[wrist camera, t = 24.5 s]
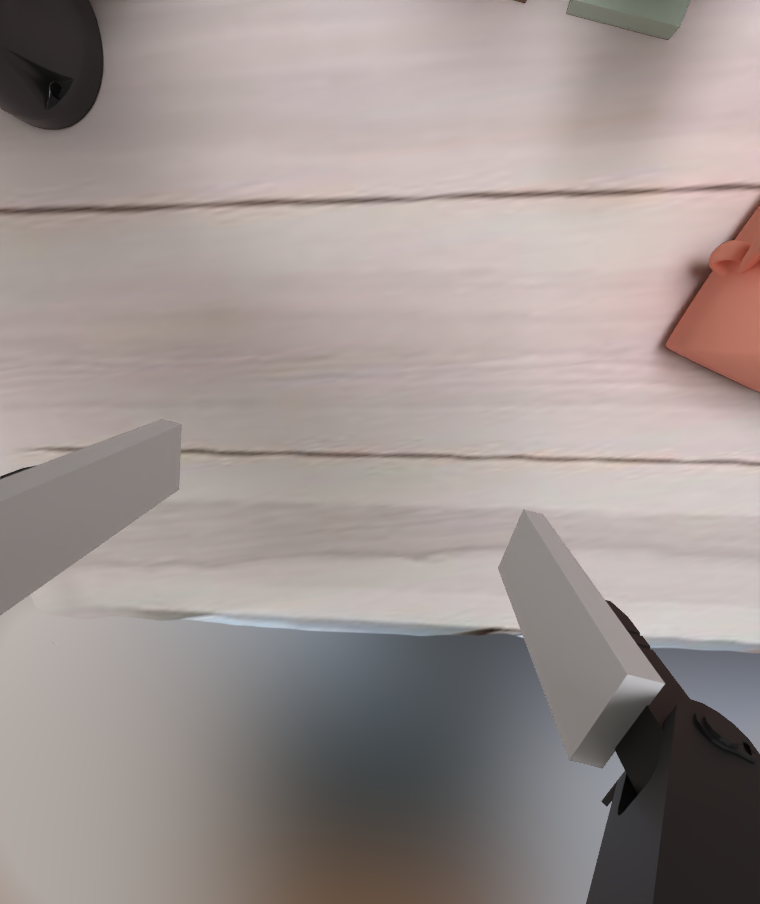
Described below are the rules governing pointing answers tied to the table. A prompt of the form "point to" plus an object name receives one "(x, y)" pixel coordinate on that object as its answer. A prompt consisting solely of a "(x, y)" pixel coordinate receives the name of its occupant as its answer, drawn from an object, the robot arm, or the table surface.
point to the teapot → (727, 312)
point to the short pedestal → (634, 14)
